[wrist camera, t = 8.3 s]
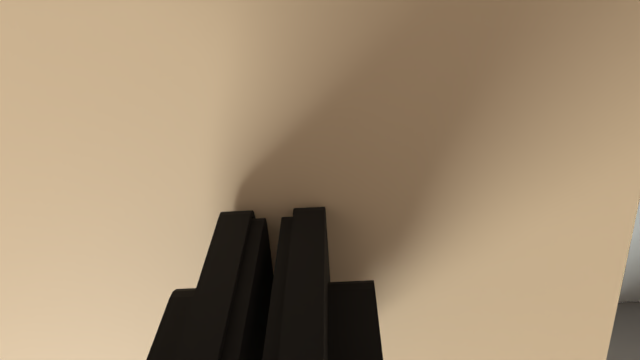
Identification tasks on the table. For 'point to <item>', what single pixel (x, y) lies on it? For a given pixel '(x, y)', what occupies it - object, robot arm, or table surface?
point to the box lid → (321, 163)
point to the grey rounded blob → (625, 333)
